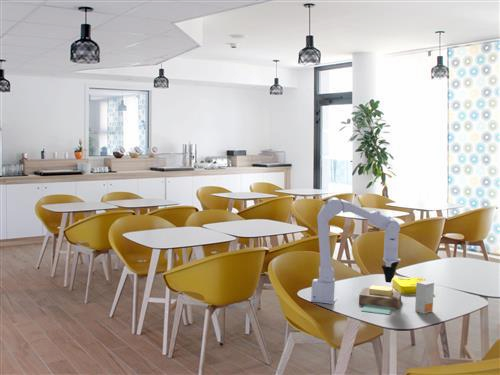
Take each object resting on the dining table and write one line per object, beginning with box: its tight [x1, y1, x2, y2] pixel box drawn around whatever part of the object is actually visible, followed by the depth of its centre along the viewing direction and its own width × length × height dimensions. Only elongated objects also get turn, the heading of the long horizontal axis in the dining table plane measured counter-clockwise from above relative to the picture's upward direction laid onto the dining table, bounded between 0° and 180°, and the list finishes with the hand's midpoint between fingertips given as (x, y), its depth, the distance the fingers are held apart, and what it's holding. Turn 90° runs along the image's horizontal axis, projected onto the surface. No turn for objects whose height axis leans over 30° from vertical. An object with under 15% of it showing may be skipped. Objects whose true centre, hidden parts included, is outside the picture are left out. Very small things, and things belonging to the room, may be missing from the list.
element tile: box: [392, 276, 427, 296], centre depth 254 cm, size 15×15×5 cm
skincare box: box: [414, 280, 435, 314], centre depth 222 cm, size 6×4×12 cm
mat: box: [360, 304, 393, 315], centre depth 224 cm, size 11×9×1 cm
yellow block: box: [368, 284, 394, 296], centre depth 234 cm, size 9×6×2 cm, turn 69°
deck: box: [358, 287, 402, 310], centre depth 234 cm, size 16×12×4 cm
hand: (389, 280), depth 231 cm, fingers open, 7 cm apart
